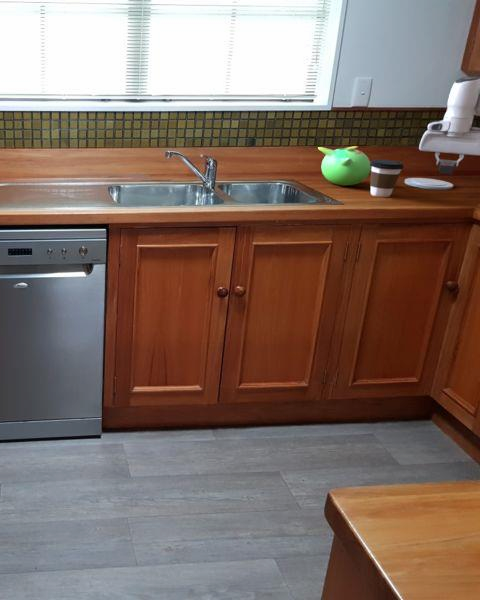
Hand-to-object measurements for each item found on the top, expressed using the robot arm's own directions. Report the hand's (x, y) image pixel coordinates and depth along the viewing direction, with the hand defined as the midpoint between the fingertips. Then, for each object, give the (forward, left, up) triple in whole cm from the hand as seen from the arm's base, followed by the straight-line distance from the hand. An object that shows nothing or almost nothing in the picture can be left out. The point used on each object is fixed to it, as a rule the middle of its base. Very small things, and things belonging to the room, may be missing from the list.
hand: (446, 165), depth 218 cm
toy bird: (+33, +4, -11) cm, 35 cm away
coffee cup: (+18, +14, -11) cm, 26 cm away
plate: (+4, -18, -11) cm, 22 cm away
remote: (0, 0, -2) cm, 2 cm away
